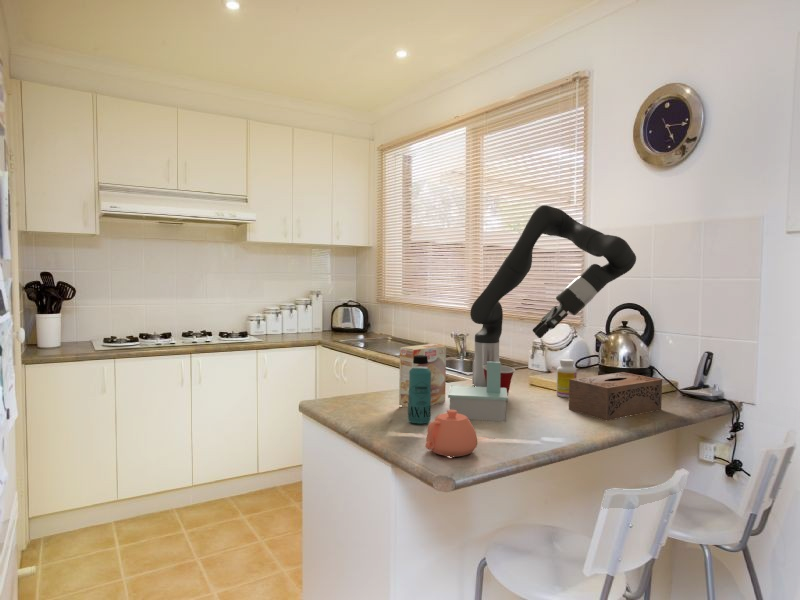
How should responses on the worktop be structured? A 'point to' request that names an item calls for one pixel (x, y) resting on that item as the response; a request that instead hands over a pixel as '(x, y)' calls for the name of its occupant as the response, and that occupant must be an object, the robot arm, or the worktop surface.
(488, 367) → the lid
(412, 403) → the beverage bottle
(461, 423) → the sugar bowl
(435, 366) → the coffeecake box
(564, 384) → the supplement bottle
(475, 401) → the tub
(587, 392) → the tissue box cover
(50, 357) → the worktop surface
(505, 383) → the plastic cup
